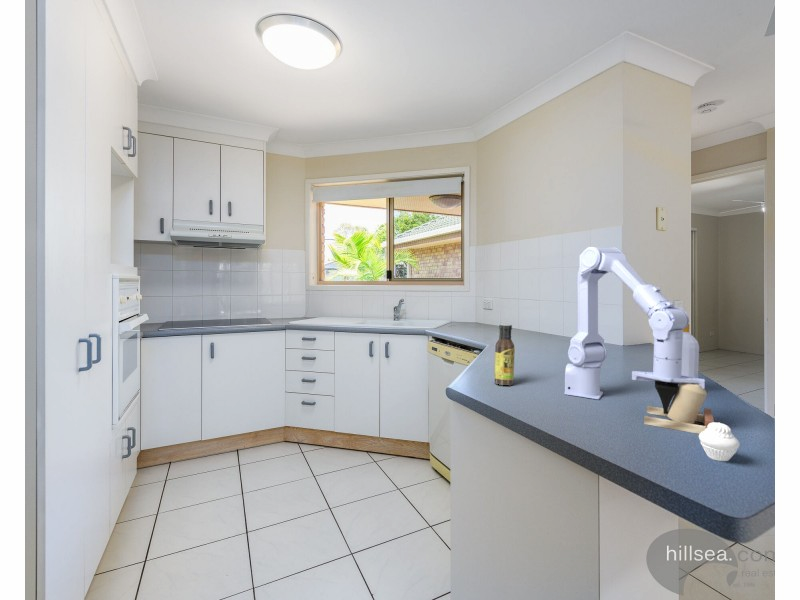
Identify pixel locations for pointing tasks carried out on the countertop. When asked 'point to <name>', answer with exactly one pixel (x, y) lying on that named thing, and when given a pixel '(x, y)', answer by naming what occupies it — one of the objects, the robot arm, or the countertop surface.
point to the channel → (676, 425)
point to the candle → (686, 403)
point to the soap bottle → (690, 355)
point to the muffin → (718, 441)
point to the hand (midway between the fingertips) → (665, 412)
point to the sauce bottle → (504, 357)
